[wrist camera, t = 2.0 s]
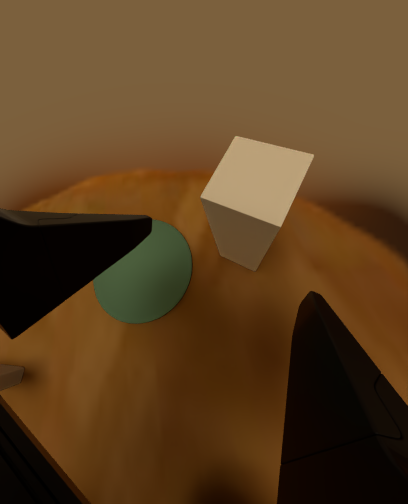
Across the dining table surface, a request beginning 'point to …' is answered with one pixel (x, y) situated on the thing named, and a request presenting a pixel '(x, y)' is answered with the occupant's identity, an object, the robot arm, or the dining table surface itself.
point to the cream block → (252, 197)
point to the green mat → (147, 277)
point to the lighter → (10, 376)
